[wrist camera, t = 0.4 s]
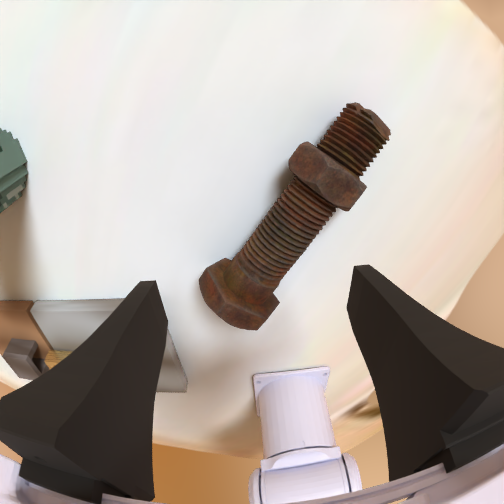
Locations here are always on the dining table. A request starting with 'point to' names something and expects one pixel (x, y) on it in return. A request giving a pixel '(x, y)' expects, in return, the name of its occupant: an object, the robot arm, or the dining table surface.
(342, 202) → the bolt
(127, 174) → the dining table surface
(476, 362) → the robot arm
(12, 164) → the can
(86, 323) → the latch plate
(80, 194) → the dining table surface
